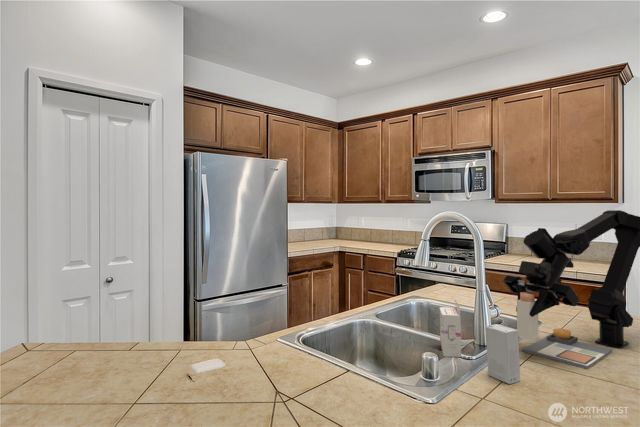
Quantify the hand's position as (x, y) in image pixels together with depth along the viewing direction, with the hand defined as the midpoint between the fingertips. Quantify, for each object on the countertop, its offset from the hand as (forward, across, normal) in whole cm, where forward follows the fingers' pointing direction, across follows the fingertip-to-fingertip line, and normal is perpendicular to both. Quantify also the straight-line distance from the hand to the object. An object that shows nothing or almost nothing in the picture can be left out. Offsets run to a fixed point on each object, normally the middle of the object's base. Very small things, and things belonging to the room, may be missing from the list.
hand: (523, 313), depth 102 cm
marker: (+4, 0, +6) cm, 7 cm away
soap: (+64, -30, -46) cm, 85 cm away
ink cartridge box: (+18, -13, -1) cm, 23 cm away
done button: (-7, -3, +21) cm, 23 cm away
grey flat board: (-2, +2, +19) cm, 19 cm away
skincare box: (+19, +6, -2) cm, 20 cm away
